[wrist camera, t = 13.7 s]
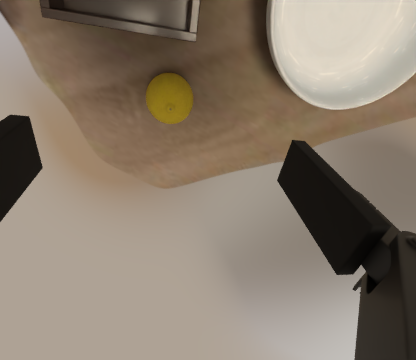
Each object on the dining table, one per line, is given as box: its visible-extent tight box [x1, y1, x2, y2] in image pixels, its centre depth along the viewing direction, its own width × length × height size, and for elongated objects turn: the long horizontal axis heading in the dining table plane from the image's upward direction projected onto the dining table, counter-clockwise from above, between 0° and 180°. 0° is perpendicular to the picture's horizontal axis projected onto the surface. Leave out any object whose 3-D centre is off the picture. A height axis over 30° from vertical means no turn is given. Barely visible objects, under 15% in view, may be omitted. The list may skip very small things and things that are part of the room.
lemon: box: [146, 73, 193, 124], centre depth 29 cm, size 6×6×8 cm
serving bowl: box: [266, 0, 416, 110], centre depth 27 cm, size 21×21×7 cm
